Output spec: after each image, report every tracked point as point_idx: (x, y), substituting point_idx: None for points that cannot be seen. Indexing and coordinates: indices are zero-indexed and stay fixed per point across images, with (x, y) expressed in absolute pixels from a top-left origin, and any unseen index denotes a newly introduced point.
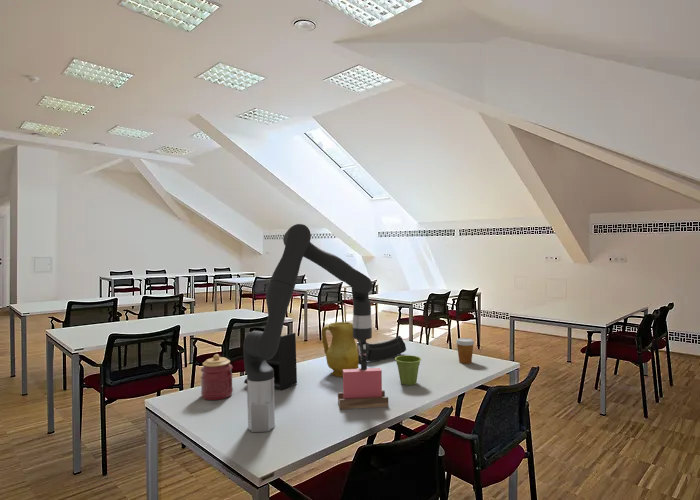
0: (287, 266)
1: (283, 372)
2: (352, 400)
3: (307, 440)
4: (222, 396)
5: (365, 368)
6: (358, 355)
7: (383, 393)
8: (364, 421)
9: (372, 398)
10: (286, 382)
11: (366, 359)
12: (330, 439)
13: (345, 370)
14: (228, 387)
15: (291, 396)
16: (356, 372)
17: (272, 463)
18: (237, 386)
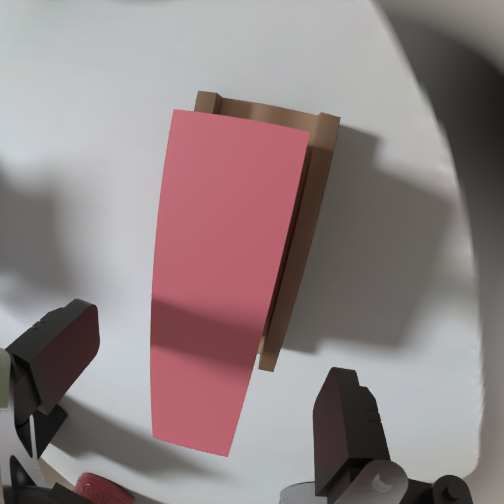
0: None
1: (37, 440)
2: (288, 318)
3: (434, 439)
4: (127, 497)
5: (366, 395)
6: (36, 406)
7: (218, 103)
8: (435, 296)
9: (318, 214)
10: None
11: (449, 490)
12: (465, 402)
13: (183, 437)
14: (111, 500)
15: (112, 417)
16: (245, 392)
17: (460, 468)
18: (56, 453)
